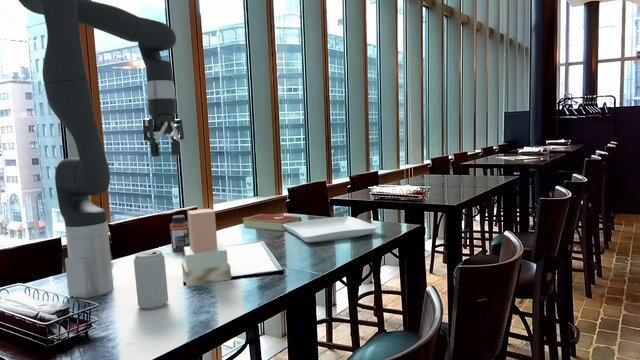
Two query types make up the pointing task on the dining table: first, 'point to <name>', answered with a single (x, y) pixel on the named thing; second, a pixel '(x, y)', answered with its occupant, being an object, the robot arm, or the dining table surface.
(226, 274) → the birch base block
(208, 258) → the sage top block
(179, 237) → the supplement bottle
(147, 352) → the dining table surface
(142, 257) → the beverage can
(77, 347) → the dining table surface
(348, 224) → the square plate
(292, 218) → the hardcover book
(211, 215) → the terracotta pillar block
